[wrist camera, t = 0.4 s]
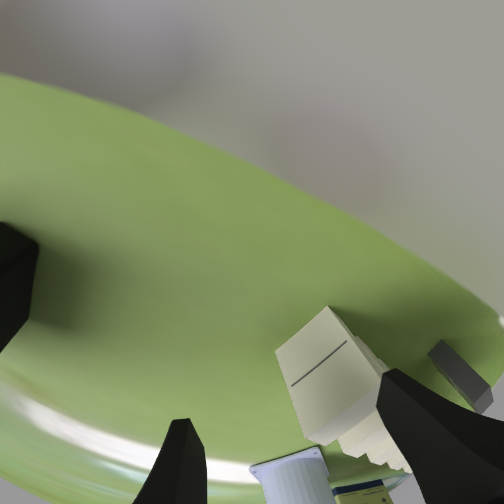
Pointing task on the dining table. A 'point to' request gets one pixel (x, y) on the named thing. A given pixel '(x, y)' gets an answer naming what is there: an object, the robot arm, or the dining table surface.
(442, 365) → the domino
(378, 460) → the domino
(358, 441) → the domino
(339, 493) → the protein box
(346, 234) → the dining table surface
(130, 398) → the dining table surface
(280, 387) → the dining table surface
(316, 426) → the domino
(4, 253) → the battery
